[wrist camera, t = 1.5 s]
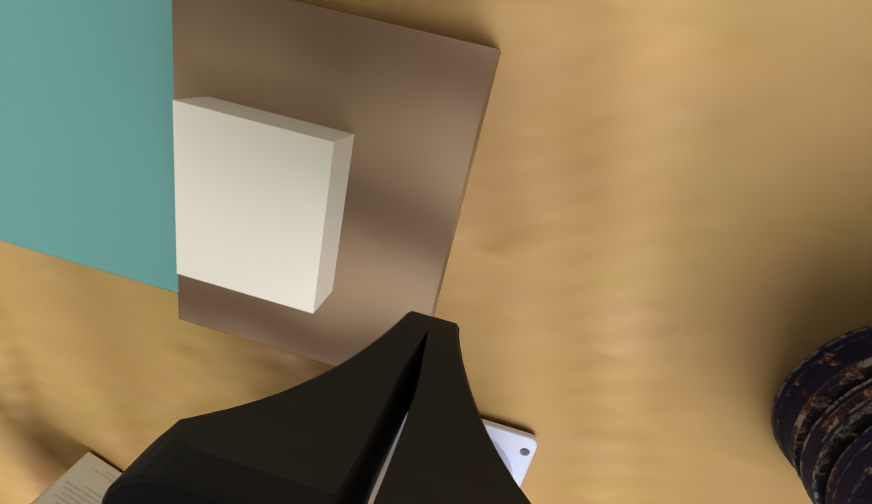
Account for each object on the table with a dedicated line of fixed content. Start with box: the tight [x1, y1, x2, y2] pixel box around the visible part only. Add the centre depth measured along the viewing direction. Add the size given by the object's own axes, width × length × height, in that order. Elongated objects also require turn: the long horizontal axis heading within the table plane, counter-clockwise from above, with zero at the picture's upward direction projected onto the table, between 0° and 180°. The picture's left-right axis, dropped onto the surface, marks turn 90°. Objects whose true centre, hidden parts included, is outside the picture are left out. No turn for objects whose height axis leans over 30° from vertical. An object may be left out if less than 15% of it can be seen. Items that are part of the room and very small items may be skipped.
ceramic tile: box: [173, 97, 354, 313], centre depth 18 cm, size 7×6×2 cm
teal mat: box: [0, 0, 178, 293], centre depth 22 cm, size 15×14×1 cm
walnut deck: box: [172, 0, 501, 366], centre depth 20 cm, size 15×12×2 cm
